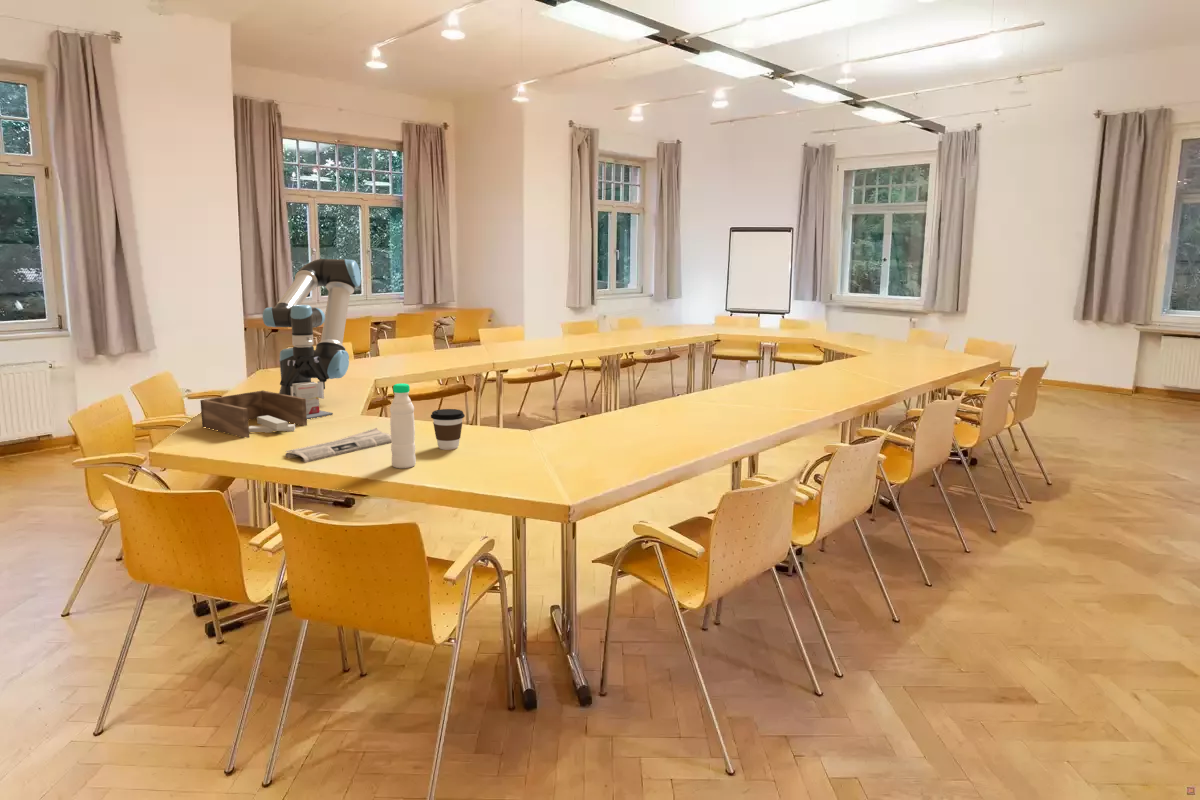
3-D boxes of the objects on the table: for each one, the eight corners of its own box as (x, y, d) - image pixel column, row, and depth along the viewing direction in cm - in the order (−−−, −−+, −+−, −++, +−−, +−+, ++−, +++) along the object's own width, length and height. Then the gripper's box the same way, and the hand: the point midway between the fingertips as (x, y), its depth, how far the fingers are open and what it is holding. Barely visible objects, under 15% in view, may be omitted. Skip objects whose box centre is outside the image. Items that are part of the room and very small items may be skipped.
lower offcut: (295, 430, 285) (294, 423, 284) (294, 433, 281) (294, 426, 281) (250, 432, 281) (249, 426, 280) (248, 435, 277) (248, 428, 276)
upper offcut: (288, 428, 277) (287, 421, 277) (276, 430, 274) (276, 423, 274) (268, 421, 287) (267, 415, 287) (257, 423, 284) (257, 416, 284)
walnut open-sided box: (264, 416, 304) (262, 390, 302) (307, 425, 290) (305, 398, 288) (202, 427, 284) (200, 400, 282) (245, 438, 270) (242, 409, 268)
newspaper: (305, 464, 241) (304, 453, 240) (281, 457, 248) (280, 446, 248) (397, 442, 269) (396, 432, 268) (373, 437, 276) (373, 427, 275)
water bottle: (393, 462, 243) (391, 382, 238) (417, 462, 243) (415, 382, 238) (389, 469, 236) (386, 386, 231) (414, 468, 236) (411, 386, 232)
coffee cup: (436, 453, 255) (435, 416, 252) (427, 445, 264) (426, 410, 262) (469, 449, 260) (469, 413, 257) (459, 442, 269) (458, 407, 267)
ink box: (315, 410, 311) (313, 381, 309) (320, 413, 307) (318, 383, 305) (292, 413, 305) (291, 383, 303) (297, 415, 302) (295, 385, 299)
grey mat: (309, 410, 316) (309, 408, 316) (332, 414, 308) (332, 412, 308) (281, 415, 305) (280, 413, 305) (303, 420, 297) (303, 418, 297)
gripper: (280, 349, 289) (283, 407, 293) (336, 343, 310) (339, 397, 314) (267, 348, 293) (271, 404, 297) (324, 342, 314) (327, 394, 318)
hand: (306, 400), depth 305 cm, fingers open, 13 cm apart
